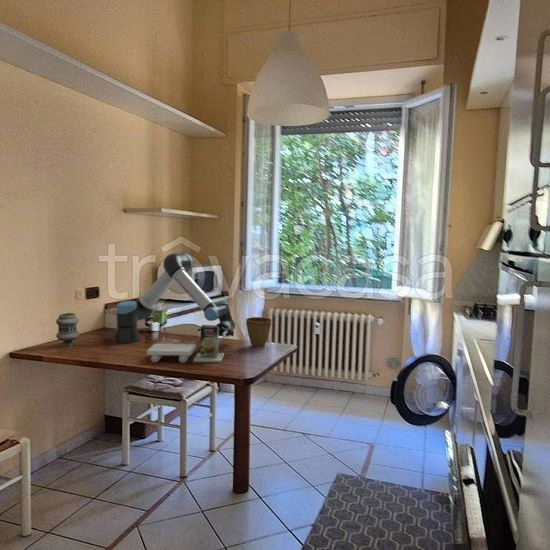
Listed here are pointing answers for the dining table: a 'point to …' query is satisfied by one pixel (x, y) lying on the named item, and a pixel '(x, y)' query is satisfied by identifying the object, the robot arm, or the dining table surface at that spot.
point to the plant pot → (258, 330)
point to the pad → (201, 359)
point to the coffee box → (209, 341)
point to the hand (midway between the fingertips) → (210, 334)
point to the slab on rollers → (171, 351)
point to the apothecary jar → (67, 328)
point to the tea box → (160, 316)
